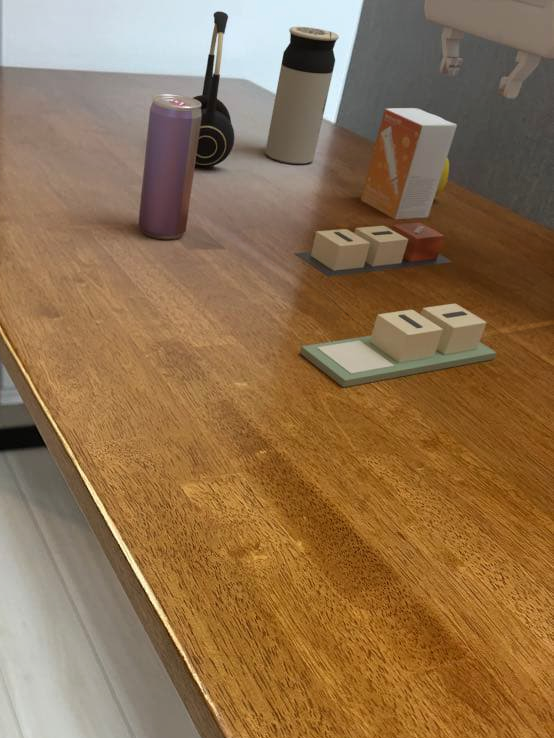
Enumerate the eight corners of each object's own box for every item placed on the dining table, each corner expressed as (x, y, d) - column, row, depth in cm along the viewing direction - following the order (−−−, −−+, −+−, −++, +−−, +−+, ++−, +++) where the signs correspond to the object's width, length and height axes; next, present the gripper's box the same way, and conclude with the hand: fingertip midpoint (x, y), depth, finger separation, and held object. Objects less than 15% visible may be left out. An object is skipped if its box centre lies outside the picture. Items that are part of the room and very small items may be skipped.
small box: (358, 204, 124) (383, 107, 116) (392, 203, 126) (419, 107, 118) (393, 225, 119) (422, 124, 110) (427, 222, 121) (459, 124, 113)
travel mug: (260, 158, 137) (283, 30, 126) (269, 147, 143) (292, 23, 132) (309, 168, 136) (337, 39, 124) (316, 156, 142) (343, 32, 130)
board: (414, 247, 113) (423, 217, 110) (451, 267, 108) (462, 237, 105) (292, 259, 104) (299, 227, 102) (326, 282, 100) (334, 250, 97)
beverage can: (156, 243, 103) (172, 108, 94) (128, 226, 107) (140, 94, 97) (194, 237, 106) (213, 106, 97) (166, 221, 110) (181, 92, 100)
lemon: (415, 195, 131) (432, 139, 126) (445, 207, 128) (463, 150, 123) (394, 199, 128) (410, 143, 123) (424, 212, 125) (442, 154, 120)
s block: (412, 245, 110) (420, 221, 109) (437, 259, 108) (445, 234, 106) (385, 248, 109) (392, 223, 107) (409, 262, 106) (417, 237, 104)
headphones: (224, 151, 138) (247, 7, 126) (230, 179, 127) (256, 24, 114) (172, 144, 138) (189, 0, 125) (173, 172, 126) (192, 16, 114)
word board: (447, 329, 93) (459, 295, 90) (494, 359, 88) (508, 324, 86) (299, 353, 84) (308, 316, 82) (342, 387, 80) (353, 349, 77)
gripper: (627, -45, 82) (565, 111, 91) (479, -75, 95) (437, 64, 104) (583, -51, 79) (523, 110, 88) (437, -80, 93) (398, 62, 101)
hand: (476, 85), depth 96 cm, fingers open, 8 cm apart
